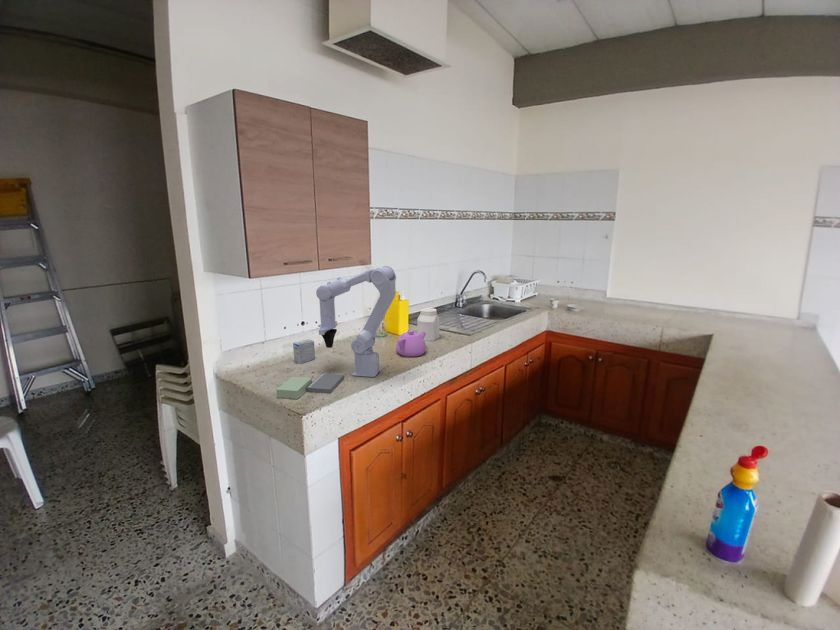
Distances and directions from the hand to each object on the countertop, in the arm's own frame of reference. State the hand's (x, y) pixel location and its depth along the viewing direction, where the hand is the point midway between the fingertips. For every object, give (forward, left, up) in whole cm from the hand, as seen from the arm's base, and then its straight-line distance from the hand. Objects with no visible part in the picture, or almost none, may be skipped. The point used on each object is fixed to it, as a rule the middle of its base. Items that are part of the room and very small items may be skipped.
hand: (329, 347), depth 170 cm
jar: (-33, -51, -10) cm, 61 cm away
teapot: (-29, -27, -10) cm, 41 cm away
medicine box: (+15, -8, -10) cm, 20 cm away
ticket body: (-4, +16, -9) cm, 19 cm away
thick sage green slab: (+4, +24, -9) cm, 26 cm away
